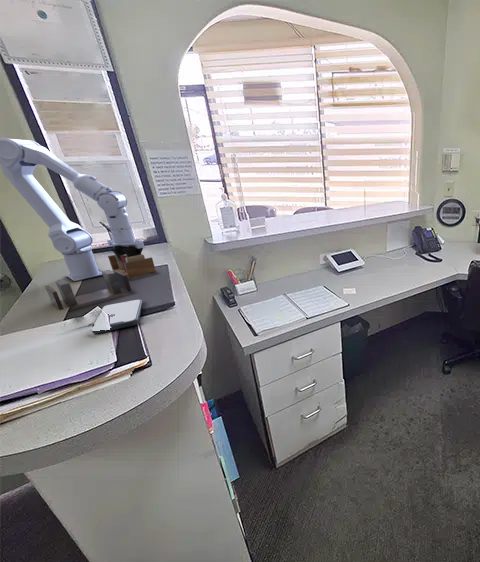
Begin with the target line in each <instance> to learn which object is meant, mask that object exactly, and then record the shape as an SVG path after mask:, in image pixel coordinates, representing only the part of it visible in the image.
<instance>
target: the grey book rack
mask: <svg viewBox="0 0 480 562" xmlns="http://www.w3.org/2000/svg"><path fill="white" fill-rule="evenodd" d="M101 272H102V274H103V275H102V277H103V279H104V282H105V285H106V287H107V288H104V289H101V290H97V291H93V292H89V293H86V294H81V295H78V296H75V294H74V291H73V288H72V285H71V283H70V282H69V281H67V280H66V279H59V280H55V284H56V286H57V289H58V292H59V294H60V296H61V299H62V300H61V299H60V297H59V294H58V292H57V291H56V289H54V288H53V287H51V285H50V284H48V285H44V288H45V290H46V292H47V295H48V297H49V299H50V302H51V304H52V305H53V306H54V307H55V308H57V309H58V310H59V311H62V310H66V309H69V308H73V307H76V306H80V305H85V304H88V303H92V302H95V301H98V300H99V301H100V300H103V299H106V298H110V297H113V296H117V295H120V294H124V293H128V292H132V291H133V290H132V287H131V284H130V280H129V277H127V275H126V274H124V273H122V272H120V271H118V270H115V271H114V272H113V270H112V269H106V270H101Z"/></svg>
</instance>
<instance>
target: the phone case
mask: <svg viewBox="0 0 480 562" xmlns="http://www.w3.org/2000/svg"><path fill="white" fill-rule="evenodd" d="M142 305H143V299H140V298H139V299H133V300H127V301H121V302H116V303H110V304H106V305H104V306H102V307H101V309H102V310H103V311H104V312H106V313H107V314H109V315H111V314H115V316H113V317H110V326H111V327H112V328H110V330H109V331H108V332H110V331H115V330H120V329H124V328H130V327H133V326H136V325H138V324H139V323H140V319H141V314H142V311H143V306H142ZM106 332H107V331H105V330H100V331H92V330H91V333H92V334H102V333H106Z"/></svg>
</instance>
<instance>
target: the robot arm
mask: <svg viewBox="0 0 480 562" xmlns="http://www.w3.org/2000/svg"><path fill="white" fill-rule="evenodd" d="M39 165H40V166H44V167H45V168H47V169H49V170H51V171H53V172H54V173H56V174H58V175H60V176H61V177H63V178H65V179H66V180H68V181H70V182H71V183H72V184H73V188H75V190H77V191H79V192H80V193H82V194H84V195H85V196H87V197H88V198H90V199H92V200H93V201H95V202H96V203H97V205H98V207H99V208H100V209H101V210H103V213H104V215H105V217H106V220H107V223H108V226H109V227H108V228H109V230H110V233H111V237H112V239H108V240H106V242H107V245H108V246H109V247H112V246H113V247H112V248H110V251H111V252H113V254H114V253H115V254H116V255H117V256H118V257H119V259H120V260H121V257H120V255H125V254H126V255H127V256H128V257H130V256H135V255H140V254H142V253H143V249H144V248H145V244H144V241H141V240H137V239H136V237H135V235H134V231H133V228H132V224H131V221H130V218H129V214H128V211H127V208H126V206H127V204H128V198H127V197H126V196H125V194H123V193H122V192H121V191H118V190H113V188H112V187H111V186H106V185H105V184H104V183H102V182H100V181H98V180H97V179H98V178H97V177H96V176H94V175H90V174H86V173H85V174H81V173H80V172H78V171H77V170H76V169H74V168H73V167H72V166H70V165H69V164H67V163H66V162H64V161H63V160H61V159H60V158H58V157H57V156H55V155H54V154H53V153H51V152H50V151H49V149H48V148H47V147H44V146H42V145H41V144H39V143H38V142H36V141H34V140H32V139H15V138H8V137H0V168H1V170H2V171H1V172H2V173H3V175H4V177H5V178H6V179H7V180H8V181H9V183H10V184H11V185H12V186H13V187H14V188H15V189H16V191H18V193H19V194H20V195H21V196H22V198H23V199H24V200H25V201H26V202H27V203H28V205H29V206H30V207H31V209H32V210H34V211H35V213H36V214H37V215H38V216H39V217H40V218H41V220H42V221H43V222H44V223H45V224H46V226H48V228H49V230H48V233H47V235H48V238H50V240H51V242H52V246H53V248H54V249H55V250H56V251H58V253H59V252H60V253H61V255H63V258H64V262H65V264H66V267H67V270H68V272H69V273H68V274H66V277H68V278H69V279H71V280H72V281H73V282H78V281H83V280H86V279H91V278H95V277H101V276H103V274H102V271H101V270H99V268H98V264H97V262H96V259H95V256H94V252H93V250H92V245H93V242H94V239H93V236H92V235H91V233H89V232H88V231H86V230H85V229H83V228H82V226H81V225H80V224H78V223H75V222H73V221H71V220H70V219H69V218H68V216H66V215H67V214H65V213H64V212H63V210H62V209H61V208H60V207H59V205H58V204H57V203H56V202H55V201H54V199H53V198H52V197H51V196H50V195H49V194H48V192H47V191H46V190H45V189H44V187H43V186H42V185H41V183H40V182H39V181H38V180H37V179H36V178H35V177H34V171H35V169H36V168H37V167H38V166H39ZM115 254H114V255H115ZM121 262H122V260H121Z"/></svg>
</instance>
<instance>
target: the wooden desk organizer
mask: <svg viewBox="0 0 480 562" xmlns="http://www.w3.org/2000/svg"><path fill="white" fill-rule="evenodd" d="M107 258H108V261H109V264H110V267H111V271H113V272H114V271H115V270H118V271H120V272H122V273H124V274H126V275H127V277H128V279H129V278H130V279H131V278H134V277H138V276H142V275H147V274H151V273H154V272H157V270H156V265H155V262H154V259H153V257H146V258H145V255H144V254H142V253H141V254H140V255H135V256H130V257H125V260H126V263H124V265H125V268H126V271H127V272H125V270H124V267H123V263H122V262H121V260H120V259H119V257H118V256H117V255H116V254H115V253H114V252H113V254H111V255H107Z"/></svg>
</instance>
